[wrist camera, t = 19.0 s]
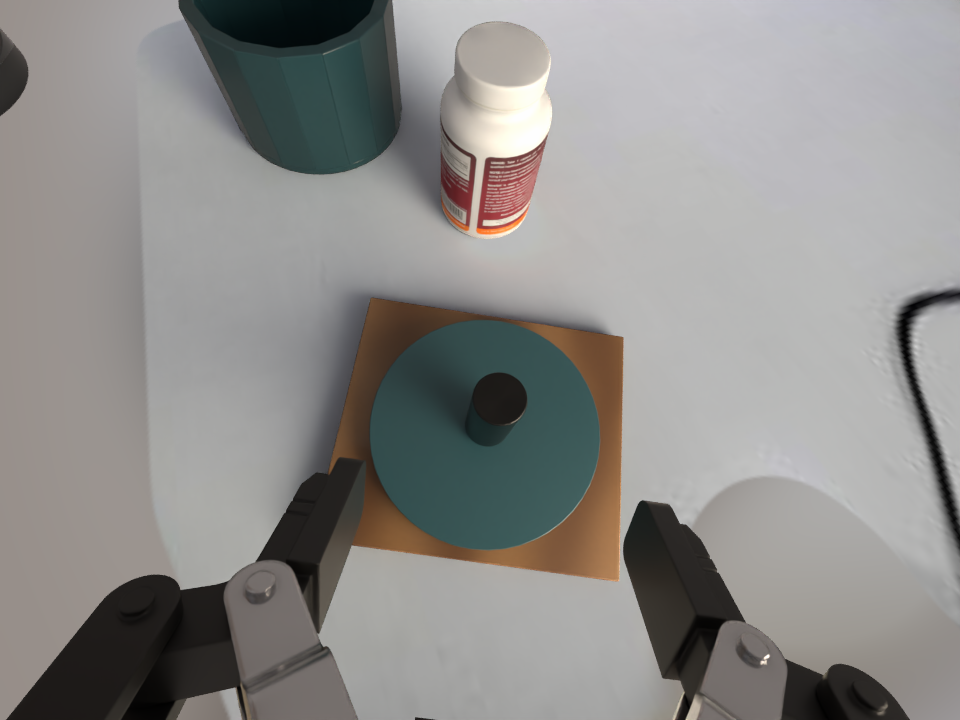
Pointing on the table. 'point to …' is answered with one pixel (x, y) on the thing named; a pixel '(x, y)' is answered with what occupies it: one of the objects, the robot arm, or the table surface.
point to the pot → (304, 76)
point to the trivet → (565, 550)
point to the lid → (484, 435)
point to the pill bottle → (493, 128)
